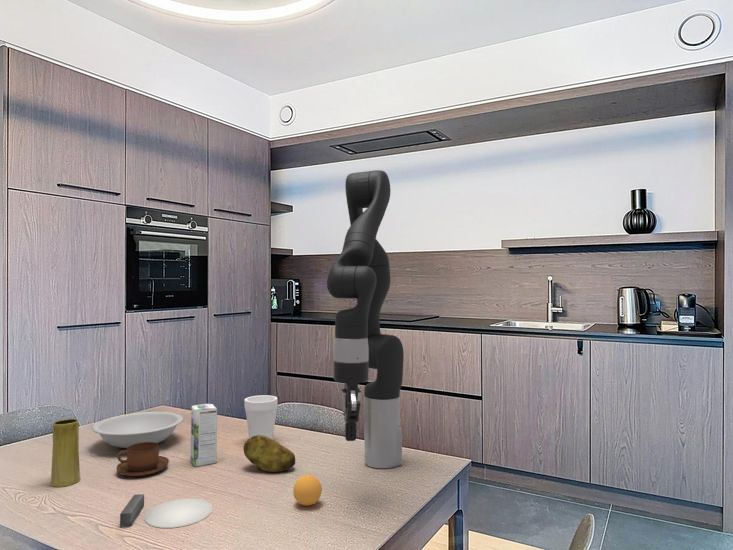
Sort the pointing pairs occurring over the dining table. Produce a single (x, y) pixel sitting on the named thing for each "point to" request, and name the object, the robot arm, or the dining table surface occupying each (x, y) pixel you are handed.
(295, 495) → the ball
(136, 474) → the cup and saucer
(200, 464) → the syrup box
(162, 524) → the white flat disc
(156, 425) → the soup bowl
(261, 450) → the potato
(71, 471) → the vase
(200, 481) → the dining table surface
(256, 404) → the foam cup
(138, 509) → the strip
